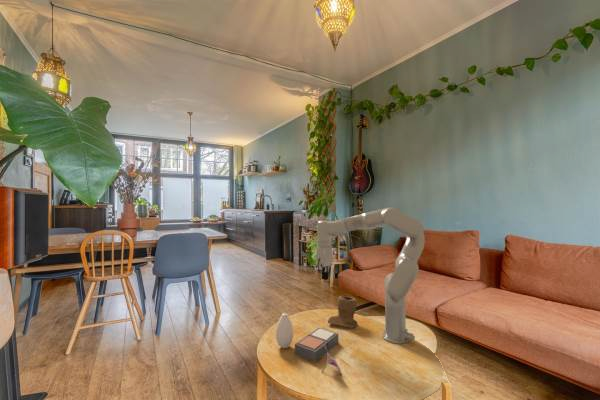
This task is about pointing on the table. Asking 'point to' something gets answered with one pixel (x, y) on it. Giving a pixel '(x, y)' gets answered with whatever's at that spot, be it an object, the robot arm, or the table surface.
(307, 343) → the key terracotta
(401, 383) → the table surface
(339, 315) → the brown boot
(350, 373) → the table surface
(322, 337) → the key white
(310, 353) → the key console
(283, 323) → the sauce bottle
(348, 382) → the table surface
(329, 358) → the lily
